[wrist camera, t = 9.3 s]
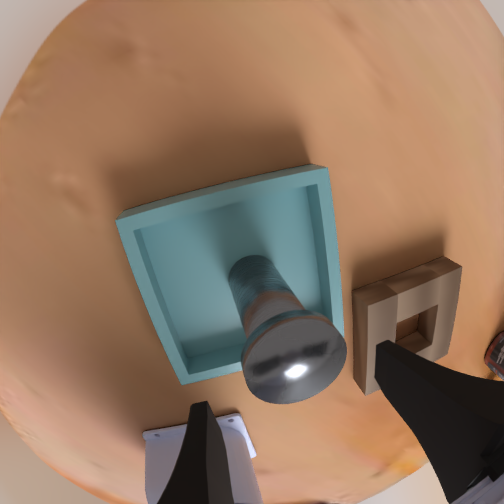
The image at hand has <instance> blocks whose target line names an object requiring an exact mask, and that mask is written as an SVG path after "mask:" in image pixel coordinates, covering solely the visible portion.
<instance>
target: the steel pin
mask: <svg viewBox="0 0 504 504" xmlns="http://www.w3.org/2000/svg"><path fill="white" fill-rule="evenodd" d="M228 283H229V287H230V290H231V293H232V296H233V299H234V302H235V305H236V308H237V311H238V314H239V317H240V320H241V323H242V326H243V329H244V332H245V335H246V338H247V340H246V342H245V344H244V346H243V349H242V352H241V366H242V370H243V373H244V377H245V380H246V384H247V386H248V388H249V390H250V391H251V392H252V394H254V395H255V396H256V397H257V398H259V399H261V400H263V401H266V402H269V403H274V404H289V403H295V402H299V401H303V400H305V399H308V398H310V397H312V396H314V395H316V394H318V393H319V392H321V391H322V390H324V389H325V388H326V387H328V386H329V385H330V384H331V383H332V382H333V381H334V380H335V379H336V377H337V376H338V375H339V373H340V372H341V370H342V368H343V366H344V363H345V360H346V355H347V347H346V343H345V340H344V338H343V336H342V335H341V334H340V332H339V331H338V330H337V328H336V327H335V326H334V325H333V323H332V322H331V321H330V320H329V319H328V318H327V317H325V316H324V315H322V314H320V313H318V312H315V311H311V310H305V308H304V307H303V305H302V304H301V302H300V301H299V300H298V298H297V297H296V295H295V294H294V293H293V291H292V290H291V288H290V287H289V286H288V284H287V283H286V281H285V280H284V279H283V277H282V276H281V274H280V273H279V271H278V270H277V269H276V267H275V266H274V264H273V263H272V262H271V261H270V260H269V259H268V258H266V257H264V256H260V255H249V256H245V257H243V258H241V259H240V260H238V261H237V262H236V263H235V264H234V265H233V266H232V268H231V270H230V272H229V276H228Z"/></svg>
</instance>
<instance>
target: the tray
mask: <svg viewBox="0 0 504 504" xmlns="http://www.w3.org/2000/svg"><path fill="white" fill-rule="evenodd" d="M115 222H116V225H117V228H118V231H119V234H120V237H121V240H122V243H123V246H124V249H125V252H126V255H127V258H128V261H129V263H130V266H131V269H132V272H133V274H134V277H135V280H136V282H137V285H138V288H139V290H140V293H141V295H142V298H143V300H144V303H145V305H146V308H147V310H148V313H149V315H150V317H151V320H152V322H153V325H154V327H155V329H156V332H157V334H158V336H159V338H160V341H161V343H162V345H163V347H164V350H165V352H166V354H167V356H168V358H169V361H170V363H171V365H172V367H173V369H174V371H175V373H176V375H177V377H178V379H179V381H180V383H181V385H185V384H189V383H194V382H198V381H202V380H206V379H210V378H214V377H218V376H222V375H226V374H230V373H234V372H237V371H241V370H242V366H241V352H242V349H243V346H244V344H245V342H246V340H247V338H246V335H245V332H244V329H243V326H242V323H241V320H240V317H239V314H238V311H237V308H236V305H235V302H234V299H233V296H232V293H231V290H230V287H229V283H228V276H229V272H230V270H231V268H232V266H233V265H234V264H235V263H236V262H237V261H238V260H240V259H241V258H243V257H245V256H249V255H260V256H264V257H266V258H268V259H269V260H270V261H271V262H272V263H273V264H274V266H275V267H276V269H277V270H278V271H279V273H280V274H281V276H282V277H283V279H284V280H285V281H286V283H287V284H288V286H289V287H290V288H291V290H292V291H293V293H294V294H295V295H296V297H297V298H298V300H299V301H300V302H301V304H302V305H303V307H304V308H305V310H311V311H315V312H318V313H320V314H322V315H324V316H325V317H327V318H328V319H329V320H330V321H331V322H332V323H333V325H334V326H335V327H336V328H337V330H338V331H339V332H340V334H341V335H342V336H343V337H344V322H343V304H342V289H341V276H340V264H339V254H338V243H337V234H336V225H335V216H334V208H333V200H332V193H331V185H330V178H329V171H328V167H324V166H319V165H314V164H308V165H303V166H298V167H293V168H288V169H283V170H278V171H274V172H269V173H264V174H260V175H256V176H251V177H247V178H243V179H238V180H234V181H230V182H226V183H222V184H218V185H214V186H210V187H206V188H202V189H198V190H194V191H190V192H187V193H183V194H179V195H176V196H172V197H168V198H165V199H161V200H158V201H154V202H151V203H147V204H144V205H141V206H137V207H134V208H131V209H127V210H124V211H123V212H122V213H121V214H120V215H119V217H118V218H117V219H116V220H115Z"/></svg>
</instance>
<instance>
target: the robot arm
mask: <svg viewBox="0 0 504 504" xmlns="http://www.w3.org/2000/svg"><path fill="white" fill-rule="evenodd" d="M374 378H375V380H376V381H377V383H378V385H379V387H380V389H381V390H382V392H383V394H384V395H385V397H386V398H387V399H388V401H389V402H390V403H391V404H392V406H393V407H394V408H395V410H396V411H397V412H398V413H399V415H400V416H401V417H402V418H403V420H404V421H405V422H406V424H407V425H408V426H409V427H410V429H411V430H412V431H413V433H414V434H415V436H416V437H417V439H418V441H419V443H420V444H421V446H422V448H423V449H424V451H425V453H426V455H427V457H428V459H429V461H430V462H431V464H432V466H433V469H434V471H435V473H436V475H437V477H438V479H439V481H440V484H441V486H442V489H443V491H444V493H445V496H446V499H447V501H448V503H449V504H504V381H496V380H489V379H484V378H479V377H475V376H471V375H467V374H464V373H460V372H457V371H454V370H451V369H449V368H446V367H444V366H441V365H439V364H436V363H434V362H432V361H430V360H427V359H425V358H423V357H421V356H419V355H417V354H415V353H413V352H411V351H409V350H407V349H405V348H403V347H401V346H400V345H398V344H396V343H394V342H392V341H390V340H386V341H383V342H381V343H379V344H377V345H376V355H375V374H374ZM142 436H143V438H144V439H145V441H146V446H145V491H146V497H147V501H148V504H264V503H263V500H262V496H261V493H260V489H259V486H258V482H257V479H256V475H255V472H254V468H253V465H252V461H251V458H253V457H255V456H256V451H255V449H254V446H253V444H252V442H251V439H250V437H249V434H248V432H247V429H246V427H245V424H244V422H243V419H242V417H241V415H240V414H239V413H234V414H230V415H226V416H221V417H217V418H215V416H214V414H213V412H212V410H211V408H210V406H209V404H208V402H207V401H204V402H200V403H195V404H192V405H191V407H190V413H189V418H188V423H187V424H185V425H179V426H174V427H168V428H163V429H156V430H150V431H145V432H143V434H142Z"/></svg>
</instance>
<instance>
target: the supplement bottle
mask: <svg viewBox="0 0 504 504" xmlns="http://www.w3.org/2000/svg"><path fill="white" fill-rule="evenodd" d="M485 364H486V365H487V366H488V367H489V368H490V369H491V370H492V371H493V372H494V373H496V374H497V375H498V376H499V377H500V378H501V379H502V380H504V331H503V332H501V333H500V334H499V335H498V336H497V337H496V338H495V339H494V341H493V342H492V343H491V345H490V347H489V349H488V351H487V353H486V356H485Z"/></svg>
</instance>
